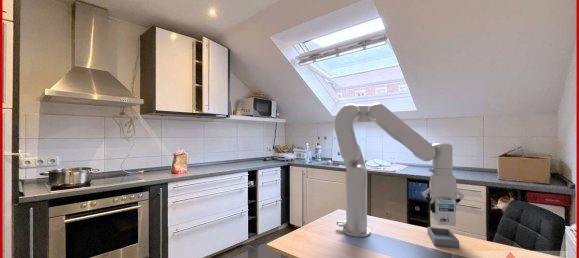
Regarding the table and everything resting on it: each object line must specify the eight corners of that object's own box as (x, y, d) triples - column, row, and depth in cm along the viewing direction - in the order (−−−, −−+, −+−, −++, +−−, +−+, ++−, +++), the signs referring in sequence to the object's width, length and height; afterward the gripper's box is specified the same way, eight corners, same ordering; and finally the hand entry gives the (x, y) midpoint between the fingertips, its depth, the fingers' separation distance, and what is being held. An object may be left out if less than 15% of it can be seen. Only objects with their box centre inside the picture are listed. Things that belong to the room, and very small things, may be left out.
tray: (434, 245, 109) (434, 238, 109) (427, 233, 122) (427, 226, 122) (459, 248, 107) (459, 241, 107) (449, 235, 119) (449, 228, 119)
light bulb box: (456, 226, 108) (456, 200, 108) (438, 225, 110) (438, 199, 109) (446, 217, 119) (446, 193, 119) (430, 216, 120) (430, 192, 120)
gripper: (422, 172, 113) (422, 213, 113) (468, 174, 108) (469, 217, 108) (418, 169, 120) (418, 208, 120) (462, 171, 115) (462, 211, 115)
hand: (442, 212), depth 114 cm, fingers closed on light bulb box, 7 cm apart
